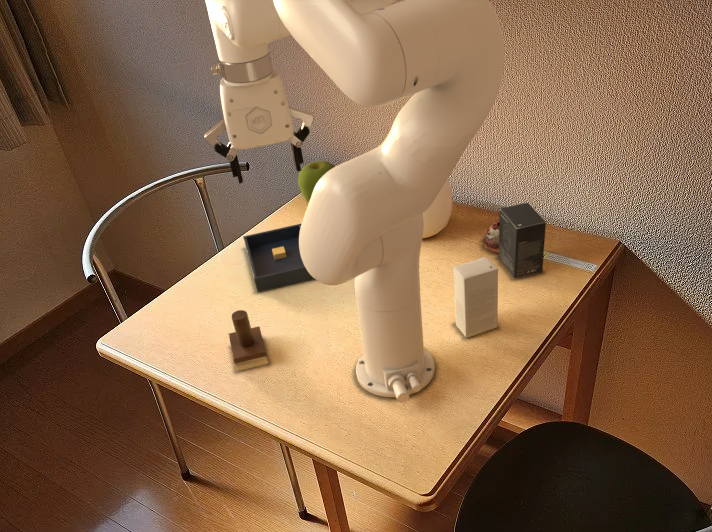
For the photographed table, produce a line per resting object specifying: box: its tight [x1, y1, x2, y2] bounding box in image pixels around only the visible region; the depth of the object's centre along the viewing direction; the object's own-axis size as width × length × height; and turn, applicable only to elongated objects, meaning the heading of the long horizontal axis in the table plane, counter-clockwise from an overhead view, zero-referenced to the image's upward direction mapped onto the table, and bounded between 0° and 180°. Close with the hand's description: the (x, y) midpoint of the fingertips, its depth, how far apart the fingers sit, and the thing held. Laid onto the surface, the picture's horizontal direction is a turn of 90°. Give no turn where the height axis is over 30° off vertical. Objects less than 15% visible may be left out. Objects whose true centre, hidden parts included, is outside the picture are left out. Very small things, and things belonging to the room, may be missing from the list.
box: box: [498, 202, 547, 279], centre depth 133 cm, size 8×6×11 cm
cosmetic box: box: [453, 256, 499, 339], centre depth 120 cm, size 6×4×12 cm
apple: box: [297, 160, 336, 205], centre depth 154 cm, size 9×8×12 cm
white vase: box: [422, 179, 453, 239], centre depth 145 cm, size 13×13×14 cm
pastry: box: [482, 218, 500, 254], centre depth 140 cm, size 8×8×5 cm
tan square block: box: [272, 246, 286, 260], centre depth 146 cm, size 2×2×1 cm
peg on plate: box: [228, 309, 269, 372], centre depth 122 cm, size 7×5×9 cm
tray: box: [242, 222, 316, 293], centre depth 144 cm, size 16×12×3 cm
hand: (269, 173), depth 121 cm, fingers open, 9 cm apart
